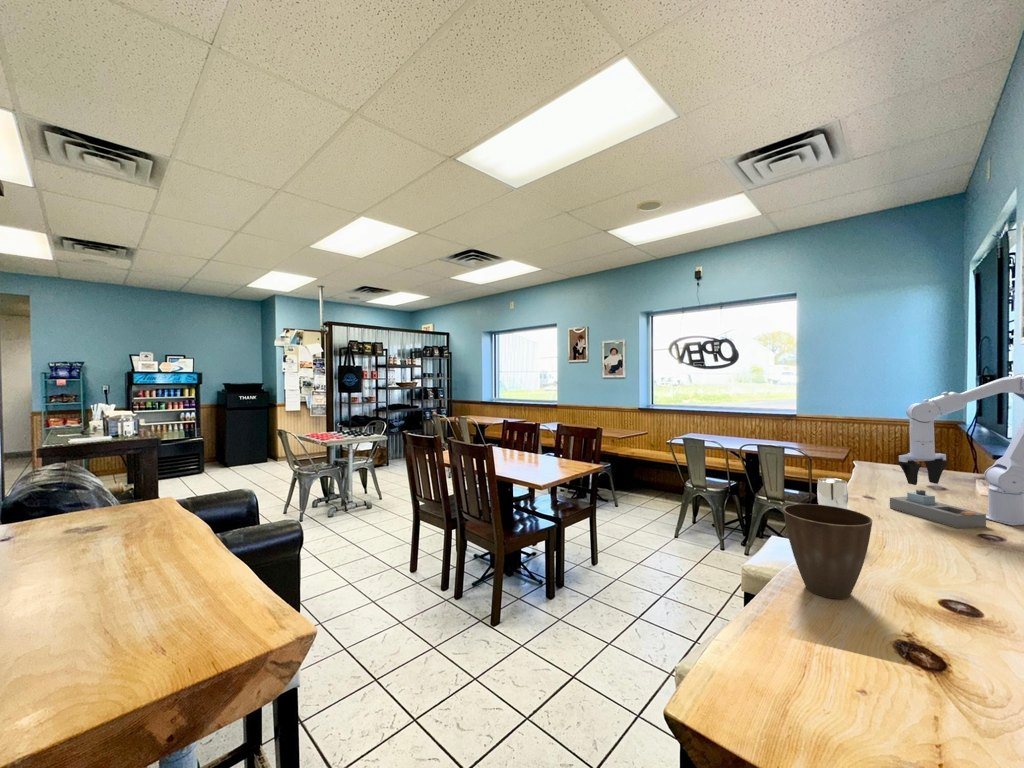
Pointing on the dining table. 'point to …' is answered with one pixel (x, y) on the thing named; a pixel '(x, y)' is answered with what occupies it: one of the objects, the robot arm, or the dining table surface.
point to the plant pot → (828, 546)
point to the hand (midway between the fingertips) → (923, 483)
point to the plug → (921, 497)
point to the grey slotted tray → (940, 513)
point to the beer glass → (832, 492)
